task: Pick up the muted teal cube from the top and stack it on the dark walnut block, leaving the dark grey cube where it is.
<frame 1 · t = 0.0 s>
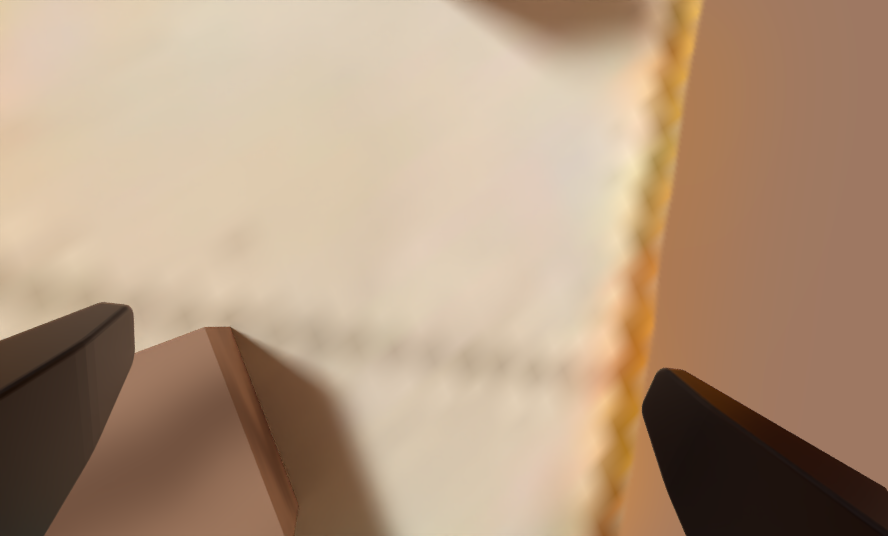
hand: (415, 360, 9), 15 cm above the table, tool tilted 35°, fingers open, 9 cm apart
walnut block: (167, 456, 22), on the table
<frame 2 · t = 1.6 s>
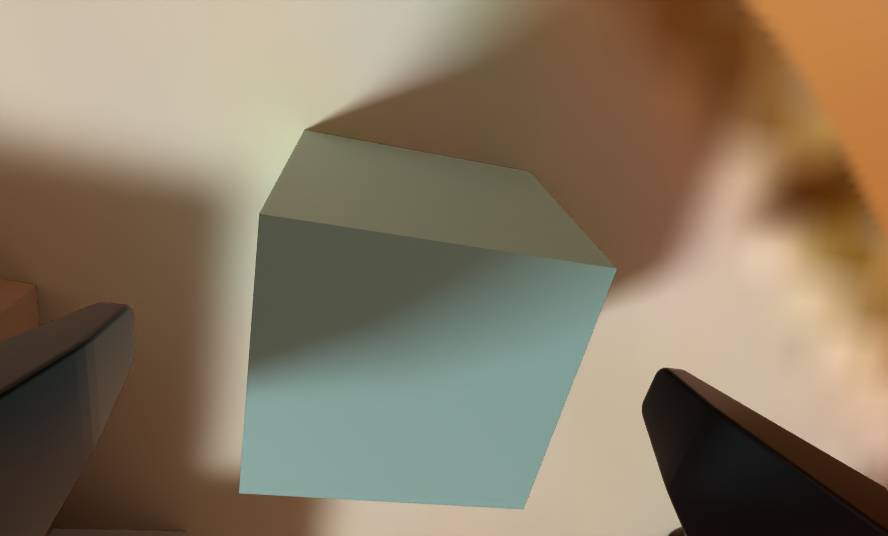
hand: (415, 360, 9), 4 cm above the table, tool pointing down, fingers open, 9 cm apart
teal cube: (401, 253, 13), on the table
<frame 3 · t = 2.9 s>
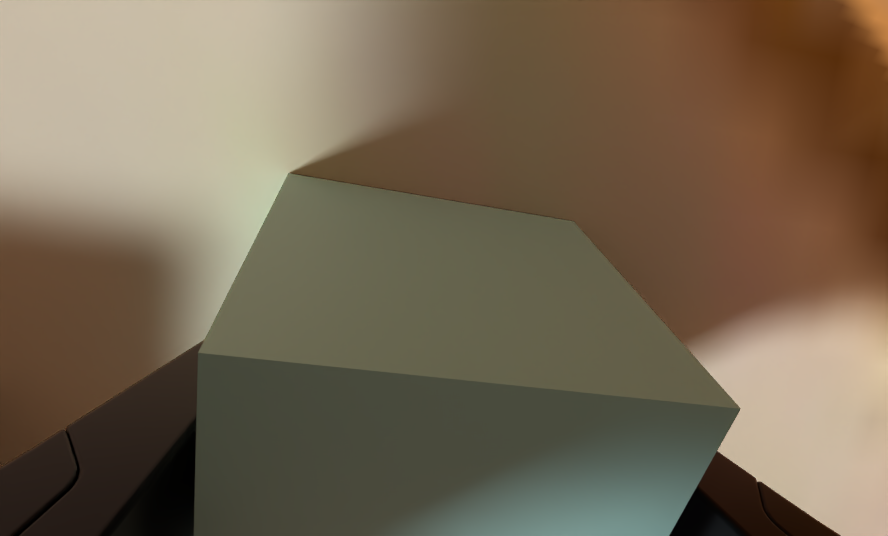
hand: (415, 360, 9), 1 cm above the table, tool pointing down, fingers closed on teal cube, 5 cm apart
teal cube: (411, 321, 10), on the table, touching gripper
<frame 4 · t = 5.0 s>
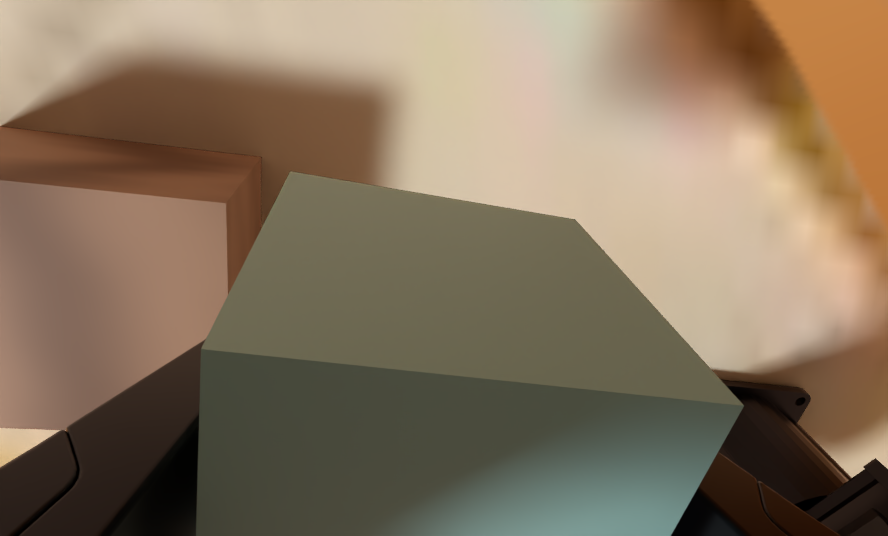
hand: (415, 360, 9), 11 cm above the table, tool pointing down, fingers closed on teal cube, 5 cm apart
walnut block: (147, 249, 20), on the table
teal cube: (413, 320, 10), point 10 cm above the table, touching gripper
when the fingers open (8 cm above the table, at t = 7.0 s): teal cube drops 2 cm, resting on walnut block.
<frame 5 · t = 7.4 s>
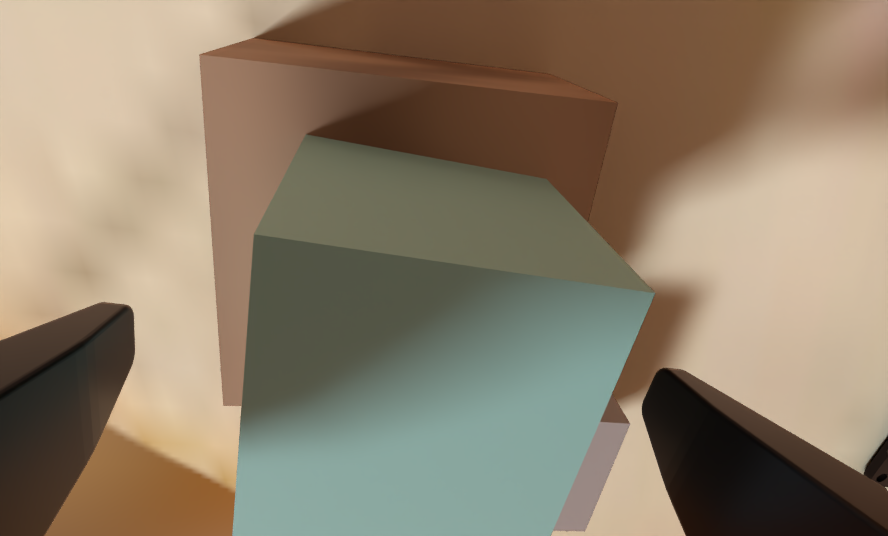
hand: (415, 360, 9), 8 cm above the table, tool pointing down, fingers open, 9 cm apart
walnut block: (395, 195, 16), on the table, touching teal cube
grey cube: (503, 381, 20), on the table
teal cube: (408, 266, 12), point 5 cm above the table, touching walnut block
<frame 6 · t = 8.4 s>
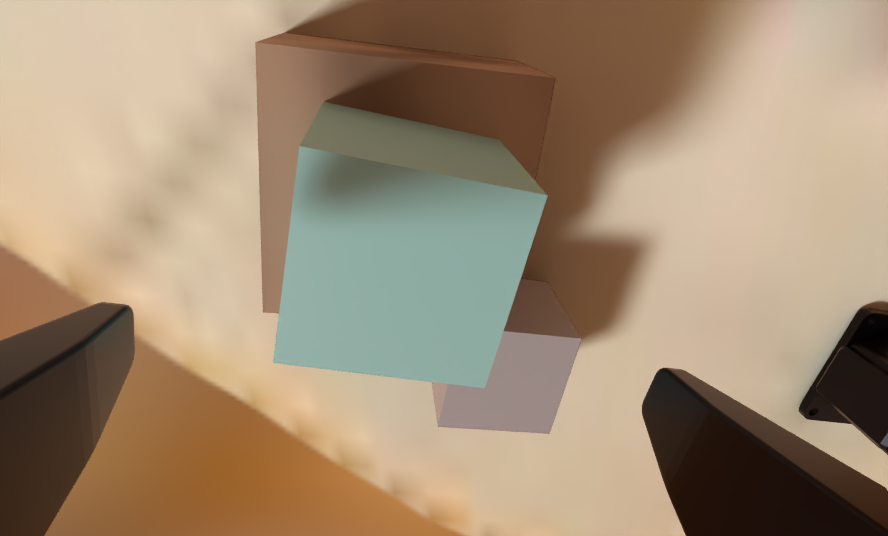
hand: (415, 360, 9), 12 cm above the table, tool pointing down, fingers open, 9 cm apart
walnut block: (394, 159, 20), on the table
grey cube: (486, 319, 24), on the table
teal cube: (397, 204, 16), point 5 cm above the table
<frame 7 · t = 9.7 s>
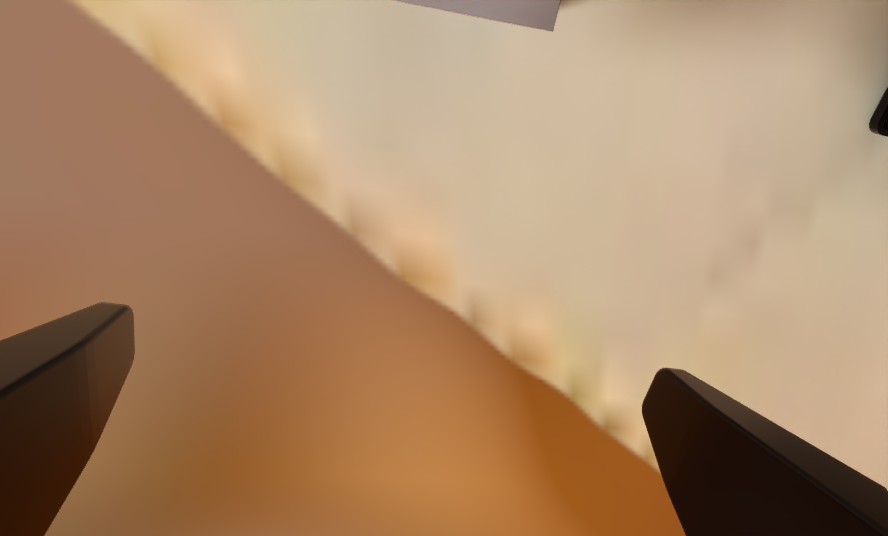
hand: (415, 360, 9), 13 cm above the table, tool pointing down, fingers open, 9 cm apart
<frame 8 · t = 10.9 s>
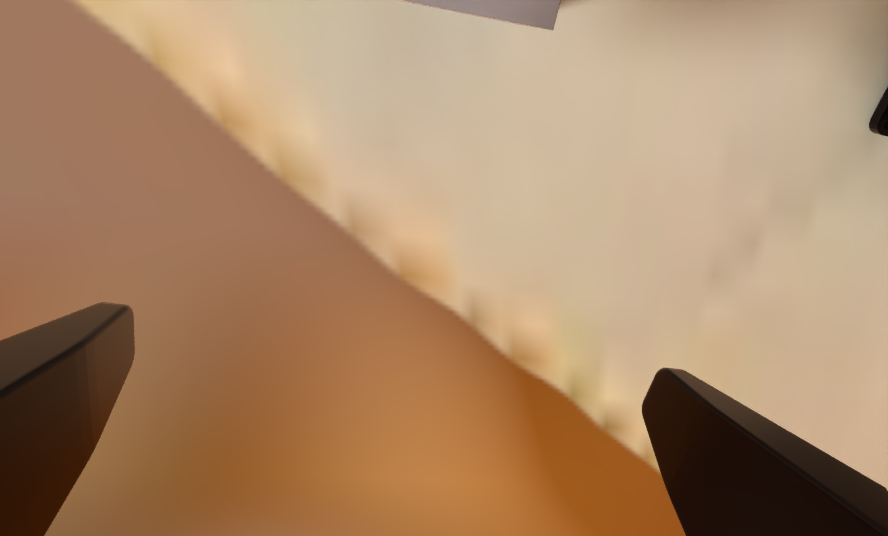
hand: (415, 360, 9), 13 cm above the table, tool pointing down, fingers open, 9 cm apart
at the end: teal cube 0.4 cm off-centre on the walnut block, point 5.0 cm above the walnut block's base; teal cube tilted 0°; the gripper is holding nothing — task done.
